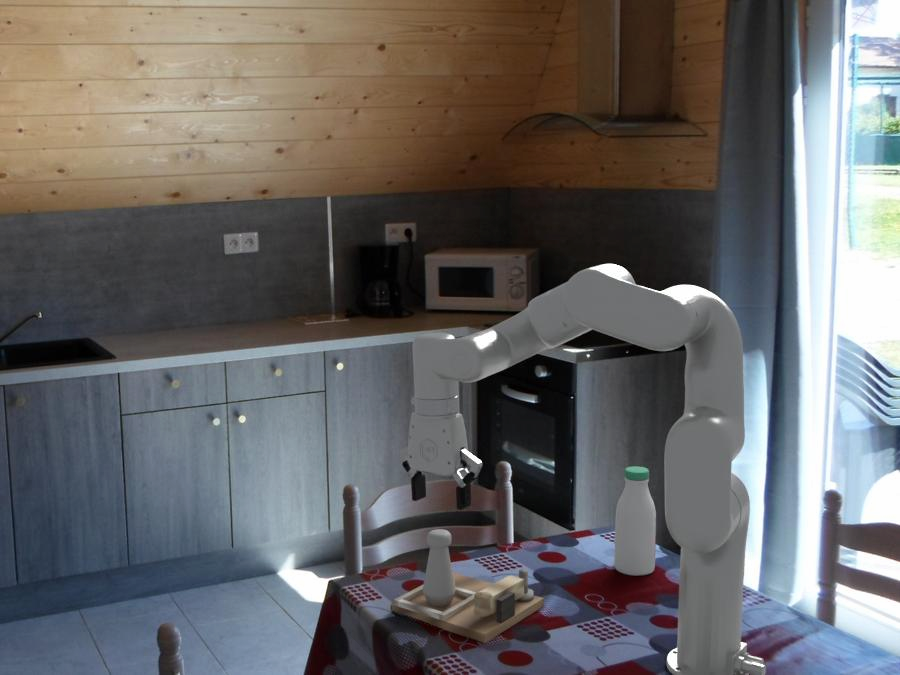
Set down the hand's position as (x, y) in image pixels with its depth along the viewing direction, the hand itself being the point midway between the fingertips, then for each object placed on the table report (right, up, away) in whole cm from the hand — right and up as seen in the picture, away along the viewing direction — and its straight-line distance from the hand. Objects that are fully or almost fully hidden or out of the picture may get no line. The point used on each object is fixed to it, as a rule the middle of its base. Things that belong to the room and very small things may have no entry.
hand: (441, 503), depth 183 cm
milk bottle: (+37, -16, +22) cm, 46 cm away
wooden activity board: (+5, -19, +4) cm, 20 cm away
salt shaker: (0, -18, +3) cm, 18 cm away
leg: (+10, -17, -1) cm, 20 cm away
